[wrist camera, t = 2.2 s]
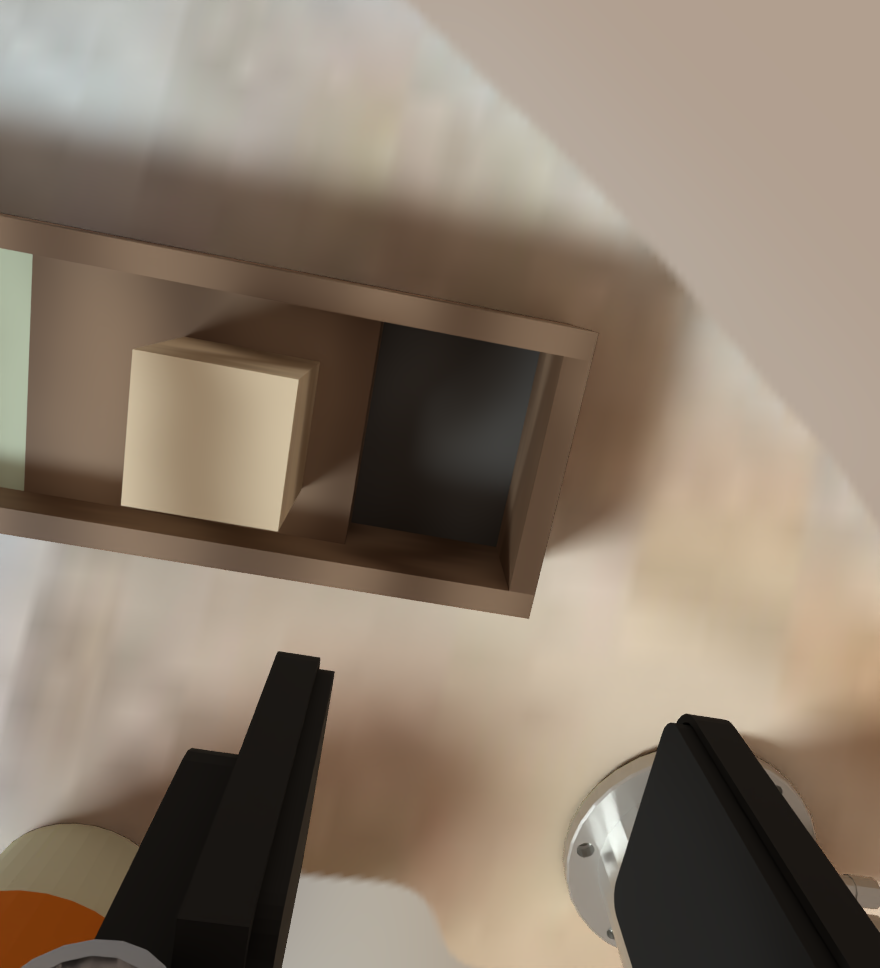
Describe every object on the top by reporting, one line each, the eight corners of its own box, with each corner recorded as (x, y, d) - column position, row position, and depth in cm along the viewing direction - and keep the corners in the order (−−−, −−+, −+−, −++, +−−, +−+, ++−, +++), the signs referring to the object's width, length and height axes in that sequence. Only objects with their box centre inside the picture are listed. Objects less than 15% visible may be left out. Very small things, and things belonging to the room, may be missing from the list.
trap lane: (569, 324, 30) (598, 333, 25) (512, 568, 33) (528, 618, 28) (-366, 141, 27) (-537, 111, 22) (-337, 427, 30) (-483, 455, 25)
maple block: (320, 361, 27) (298, 379, 22) (301, 488, 28) (277, 531, 23) (184, 336, 26) (132, 349, 22) (172, 466, 28) (121, 505, 23)
